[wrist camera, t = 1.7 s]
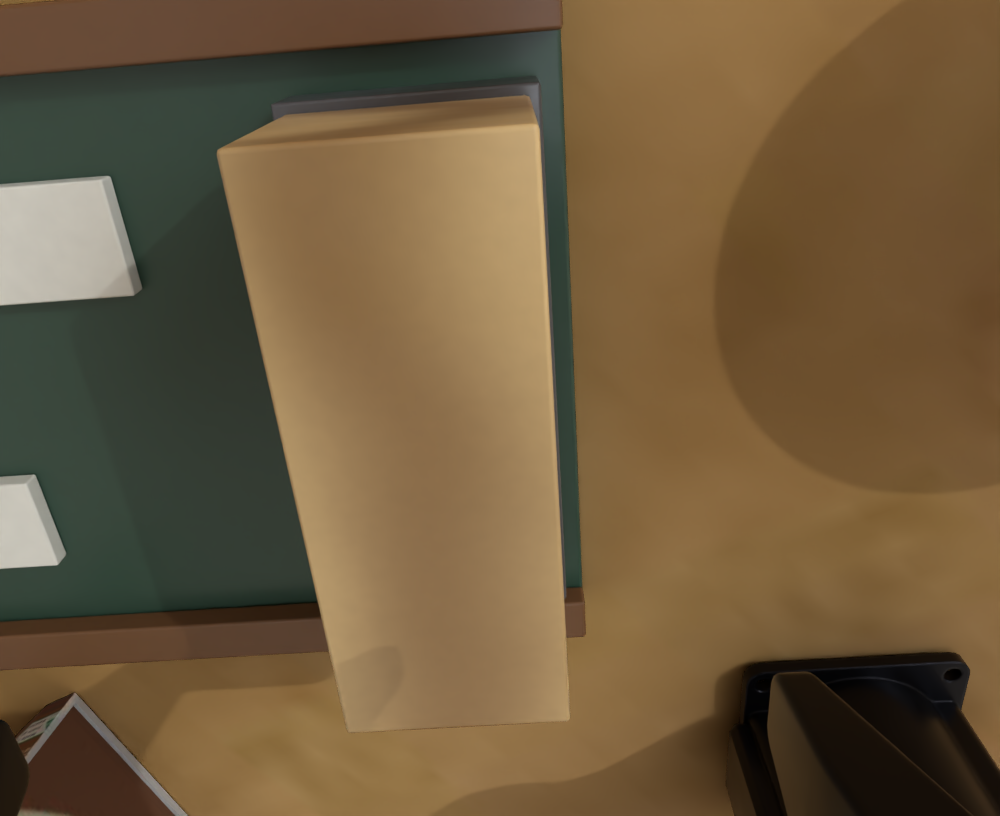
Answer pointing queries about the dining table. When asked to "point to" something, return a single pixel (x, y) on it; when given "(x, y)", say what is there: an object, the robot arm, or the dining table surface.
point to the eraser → (415, 390)
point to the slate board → (203, 310)
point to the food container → (85, 768)
